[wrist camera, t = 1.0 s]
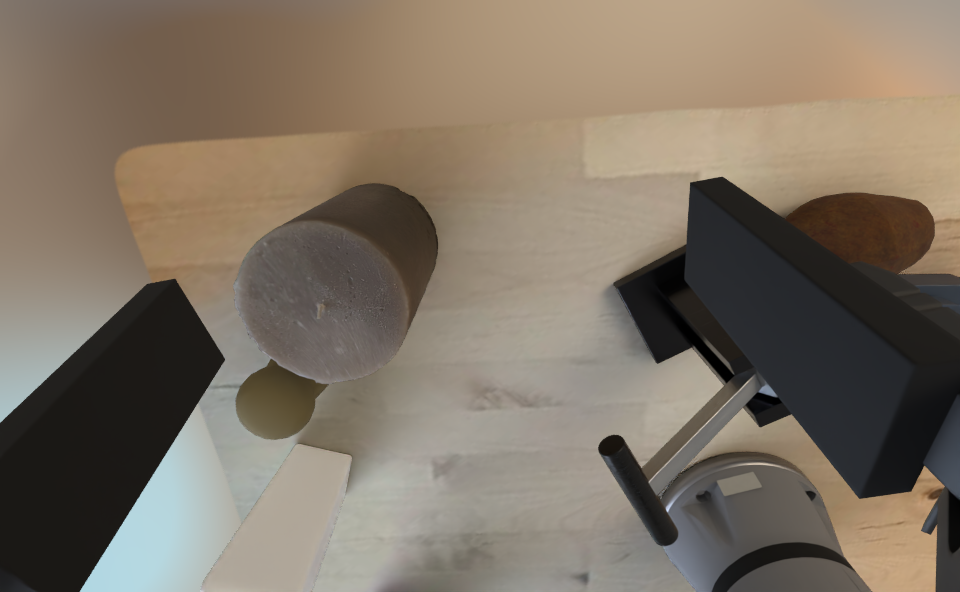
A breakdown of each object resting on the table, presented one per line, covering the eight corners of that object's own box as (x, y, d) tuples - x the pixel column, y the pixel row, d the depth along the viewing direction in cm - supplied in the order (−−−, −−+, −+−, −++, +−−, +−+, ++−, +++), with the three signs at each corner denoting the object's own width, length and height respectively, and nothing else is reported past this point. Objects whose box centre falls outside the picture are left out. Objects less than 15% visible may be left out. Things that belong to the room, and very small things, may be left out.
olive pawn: (273, 338, 42) (201, 410, 32) (321, 299, 41) (262, 361, 30) (321, 385, 44) (268, 468, 33) (369, 349, 42) (328, 424, 32)
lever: (642, 532, 27) (673, 557, 25) (587, 445, 25) (615, 464, 23) (780, 387, 31) (819, 398, 28) (741, 300, 29) (779, 304, 26)
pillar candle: (434, 181, 37) (397, 222, 23) (441, 298, 40) (413, 397, 26) (310, 184, 37) (199, 226, 23) (328, 300, 41) (240, 398, 27)
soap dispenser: (284, 488, 48) (127, 768, 27) (291, 437, 46) (126, 699, 25) (348, 502, 48) (240, 787, 28) (358, 451, 46) (249, 722, 26)
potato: (894, 259, 38) (977, 289, 31) (758, 285, 39) (812, 319, 32) (900, 171, 35) (992, 183, 29) (756, 202, 37) (813, 220, 30)
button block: (915, 371, 41) (963, 400, 37) (821, 372, 42) (858, 400, 37) (949, 273, 38) (1006, 293, 34) (847, 274, 38) (891, 294, 34)
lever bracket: (652, 357, 42) (723, 465, 29) (612, 282, 39) (670, 364, 26) (764, 303, 39) (894, 394, 27) (729, 221, 37) (853, 277, 24)
